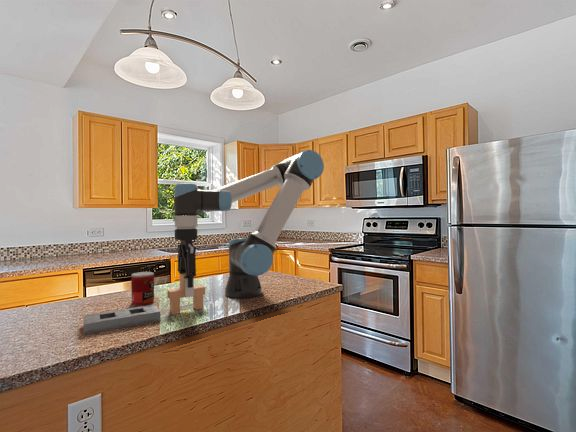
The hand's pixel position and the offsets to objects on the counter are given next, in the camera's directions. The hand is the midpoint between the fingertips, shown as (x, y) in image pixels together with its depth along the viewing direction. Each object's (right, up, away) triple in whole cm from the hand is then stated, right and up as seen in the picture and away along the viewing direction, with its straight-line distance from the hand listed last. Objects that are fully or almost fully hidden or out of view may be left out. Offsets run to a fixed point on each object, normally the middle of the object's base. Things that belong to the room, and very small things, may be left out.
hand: (186, 294), depth 109 cm
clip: (0, -5, 0) cm, 5 cm away
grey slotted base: (-15, -6, -13) cm, 21 cm away
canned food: (-20, -6, +10) cm, 23 cm away
